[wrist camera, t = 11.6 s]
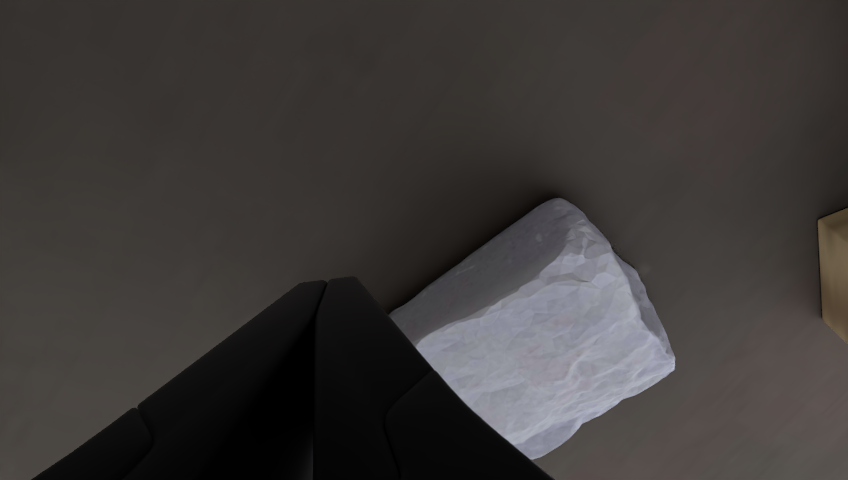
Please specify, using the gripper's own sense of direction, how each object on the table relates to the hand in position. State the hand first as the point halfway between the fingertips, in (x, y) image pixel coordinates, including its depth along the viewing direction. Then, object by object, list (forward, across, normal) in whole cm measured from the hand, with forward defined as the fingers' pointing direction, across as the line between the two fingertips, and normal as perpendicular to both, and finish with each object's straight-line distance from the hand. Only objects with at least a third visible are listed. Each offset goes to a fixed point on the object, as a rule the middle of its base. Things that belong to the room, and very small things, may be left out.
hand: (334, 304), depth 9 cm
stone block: (+13, +5, -13) cm, 19 cm away
